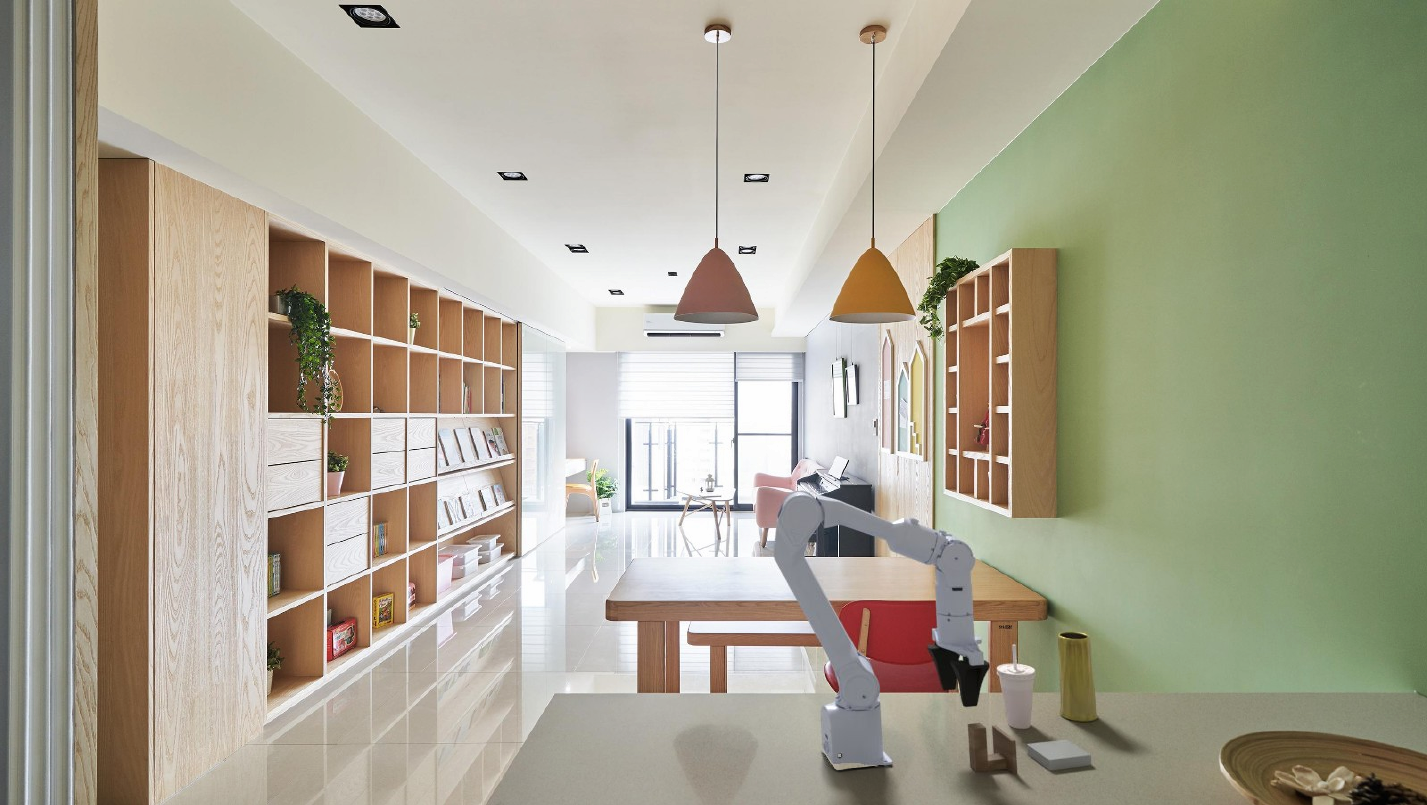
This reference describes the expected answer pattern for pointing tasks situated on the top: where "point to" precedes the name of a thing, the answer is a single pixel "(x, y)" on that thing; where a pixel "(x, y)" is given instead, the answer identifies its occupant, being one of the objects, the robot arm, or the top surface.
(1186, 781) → the top surface
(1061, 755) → the tile
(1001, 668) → the smoothie
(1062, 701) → the vase
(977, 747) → the u-shaped wooden bracket
